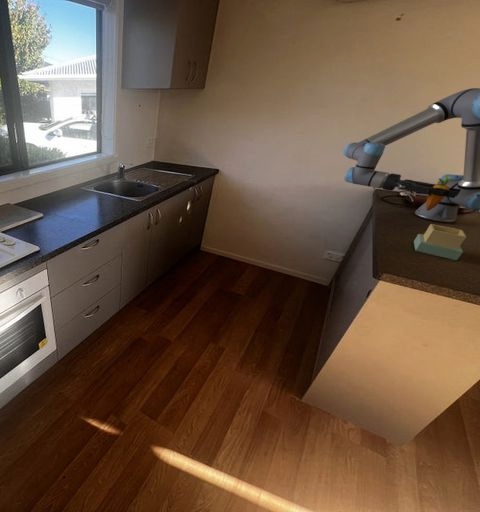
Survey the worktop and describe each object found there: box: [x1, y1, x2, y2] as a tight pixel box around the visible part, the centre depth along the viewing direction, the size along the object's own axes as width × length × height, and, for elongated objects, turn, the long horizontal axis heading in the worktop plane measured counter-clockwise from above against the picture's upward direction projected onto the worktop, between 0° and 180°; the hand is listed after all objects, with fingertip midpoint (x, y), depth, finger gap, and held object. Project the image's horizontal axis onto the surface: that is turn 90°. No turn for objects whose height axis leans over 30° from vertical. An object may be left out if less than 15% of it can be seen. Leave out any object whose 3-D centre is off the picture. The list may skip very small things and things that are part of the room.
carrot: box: [425, 176, 451, 211], centre depth 124 cm, size 5×5×15 cm
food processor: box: [413, 223, 467, 261], centre depth 120 cm, size 13×12×10 cm
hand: (457, 193), depth 120 cm, fingers closed on carrot, 5 cm apart
